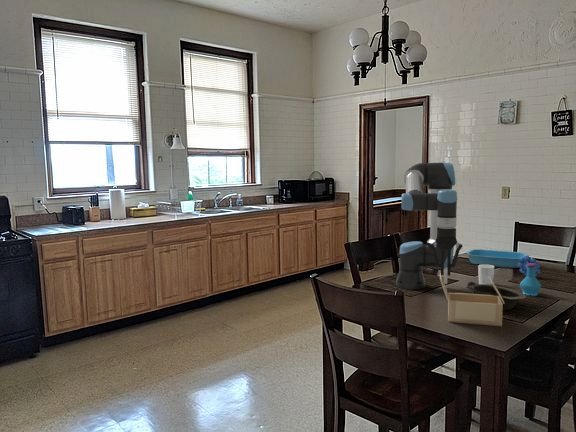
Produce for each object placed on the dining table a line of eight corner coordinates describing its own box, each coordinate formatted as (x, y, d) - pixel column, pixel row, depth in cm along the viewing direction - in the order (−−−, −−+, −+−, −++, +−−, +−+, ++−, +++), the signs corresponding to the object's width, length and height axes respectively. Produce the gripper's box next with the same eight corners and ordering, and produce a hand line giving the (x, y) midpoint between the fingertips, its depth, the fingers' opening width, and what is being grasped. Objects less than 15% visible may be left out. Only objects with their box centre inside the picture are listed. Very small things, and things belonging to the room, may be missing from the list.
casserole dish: (461, 264, 294) (462, 253, 293) (469, 257, 312) (470, 247, 311) (526, 271, 273) (526, 259, 272) (530, 263, 292) (531, 252, 291)
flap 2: (492, 283, 183) (493, 283, 183) (489, 277, 193) (490, 276, 193) (503, 303, 182) (504, 303, 182) (500, 296, 193) (501, 295, 193)
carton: (448, 322, 189) (449, 301, 188) (447, 312, 201) (448, 292, 200) (502, 327, 183) (502, 305, 181) (497, 316, 195) (498, 295, 194)
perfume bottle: (529, 297, 221) (530, 266, 219) (515, 292, 230) (516, 262, 228) (545, 295, 224) (546, 265, 222) (530, 290, 232) (531, 261, 231)
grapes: (515, 277, 259) (516, 256, 257) (517, 274, 264) (518, 254, 263) (539, 279, 252) (540, 258, 251) (540, 277, 258) (541, 256, 257)
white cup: (495, 286, 240) (496, 267, 239) (479, 286, 242) (479, 267, 241) (491, 282, 248) (492, 264, 247) (476, 282, 250) (476, 264, 248)
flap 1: (440, 272, 199) (439, 273, 199) (440, 279, 189) (439, 279, 189) (447, 292, 199) (446, 292, 199) (448, 299, 189) (447, 300, 189)
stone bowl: (456, 305, 210) (457, 285, 210) (479, 297, 228) (480, 278, 227) (513, 316, 193) (515, 294, 192) (533, 307, 210) (535, 287, 210)
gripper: (430, 228, 189) (429, 284, 192) (463, 229, 185) (462, 286, 188) (430, 225, 196) (429, 279, 199) (462, 226, 193) (461, 281, 195)
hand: (445, 282), depth 194 cm, fingers closed
